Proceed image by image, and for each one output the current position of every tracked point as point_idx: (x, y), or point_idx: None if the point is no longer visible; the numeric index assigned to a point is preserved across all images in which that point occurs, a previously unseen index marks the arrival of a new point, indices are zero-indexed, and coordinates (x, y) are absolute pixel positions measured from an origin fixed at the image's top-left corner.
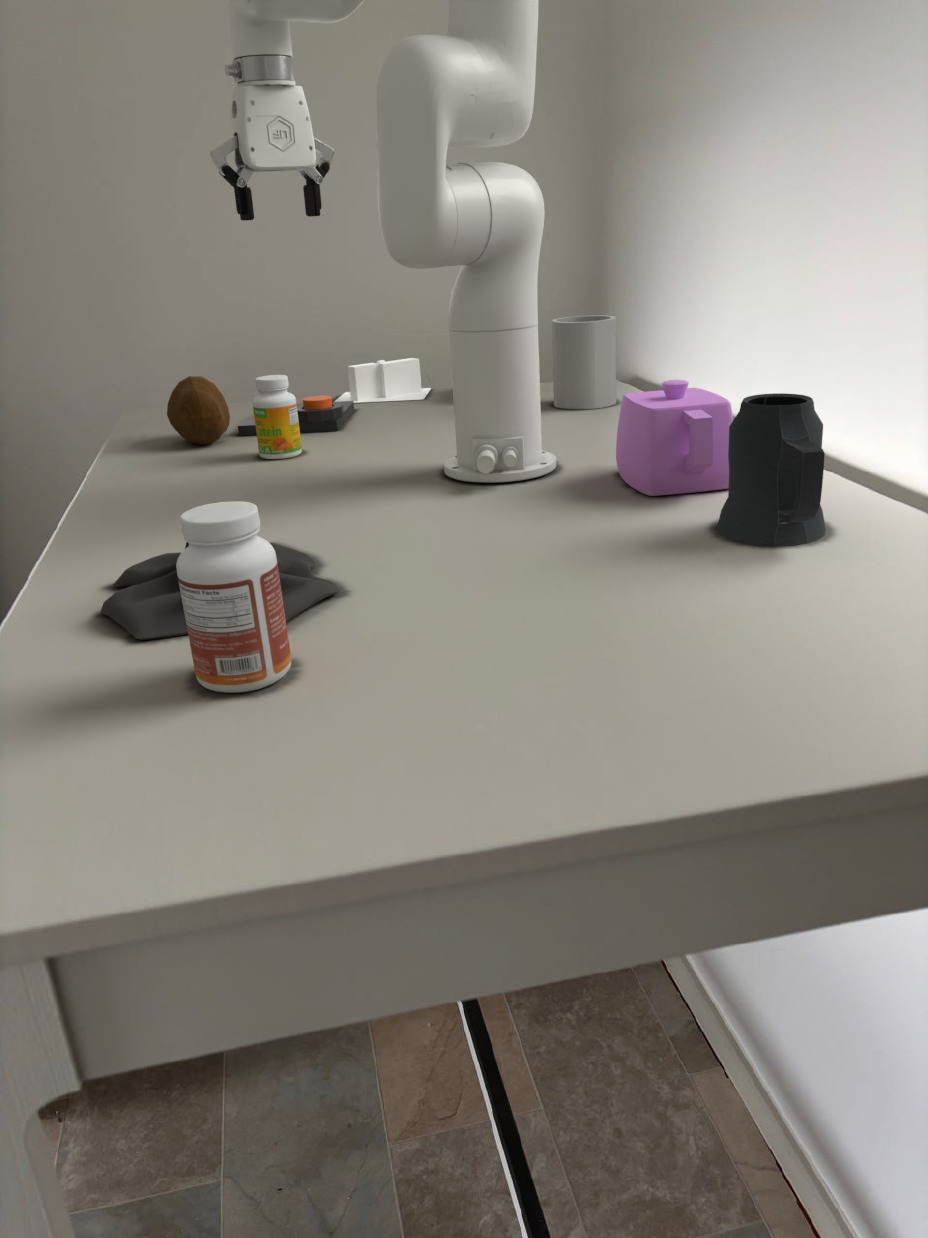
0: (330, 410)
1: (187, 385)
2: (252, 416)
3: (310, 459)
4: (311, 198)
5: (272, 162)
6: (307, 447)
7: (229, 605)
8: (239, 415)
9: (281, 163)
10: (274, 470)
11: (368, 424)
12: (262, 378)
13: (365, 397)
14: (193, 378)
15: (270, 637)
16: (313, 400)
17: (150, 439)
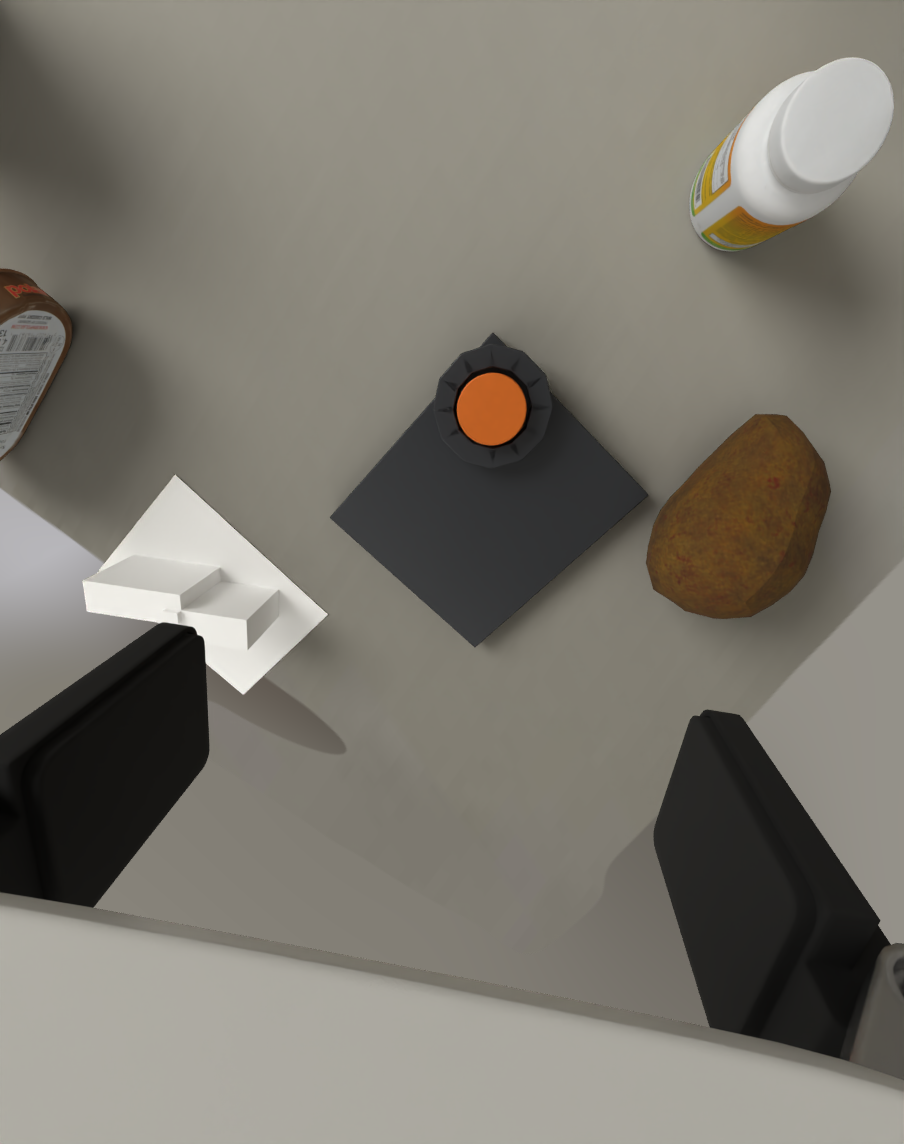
0: (497, 345)
1: (801, 534)
2: (562, 562)
3: (738, 74)
4: (130, 734)
5: (625, 1123)
6: (648, 223)
7: None
8: (508, 678)
9: (398, 1046)
10: (868, 34)
11: (408, 335)
12: (865, 130)
13: (258, 588)
14: (780, 546)
15: None
16: (517, 385)
17: (754, 626)
